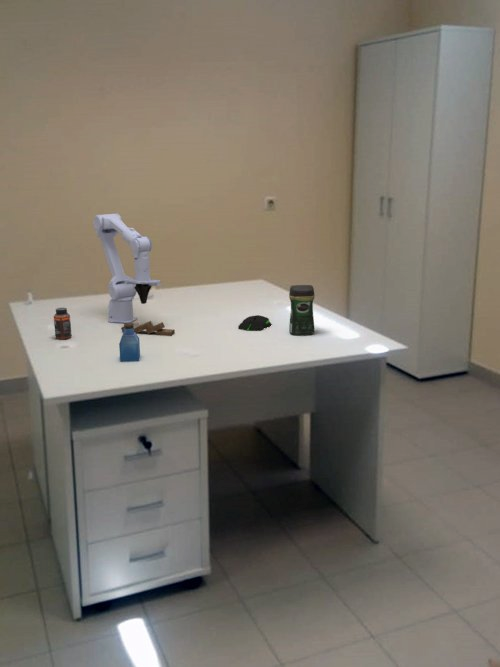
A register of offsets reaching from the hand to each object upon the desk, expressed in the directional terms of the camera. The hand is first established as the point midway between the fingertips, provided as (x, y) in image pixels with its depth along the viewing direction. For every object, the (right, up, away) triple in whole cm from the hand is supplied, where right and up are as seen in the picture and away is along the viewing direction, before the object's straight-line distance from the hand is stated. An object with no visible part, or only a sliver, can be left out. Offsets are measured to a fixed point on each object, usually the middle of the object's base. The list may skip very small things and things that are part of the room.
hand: (143, 303), depth 279 cm
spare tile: (-7, -10, -3) cm, 13 cm away
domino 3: (+6, -11, -6) cm, 15 cm away
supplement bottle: (-28, -14, -11) cm, 33 cm away
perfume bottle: (+1, -21, -37) cm, 42 cm away
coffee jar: (+61, -12, -7) cm, 62 cm away
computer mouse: (+44, -9, +4) cm, 45 cm away
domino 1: (-2, -10, -4) cm, 11 cm away
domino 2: (+3, -11, -5) cm, 12 cm away
